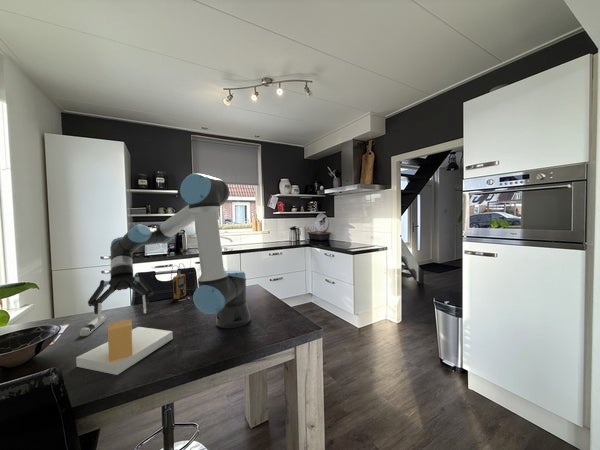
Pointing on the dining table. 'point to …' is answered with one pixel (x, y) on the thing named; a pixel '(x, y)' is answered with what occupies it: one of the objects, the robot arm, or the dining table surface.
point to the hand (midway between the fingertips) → (123, 316)
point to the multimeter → (179, 285)
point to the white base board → (141, 345)
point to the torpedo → (92, 326)
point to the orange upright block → (120, 339)
